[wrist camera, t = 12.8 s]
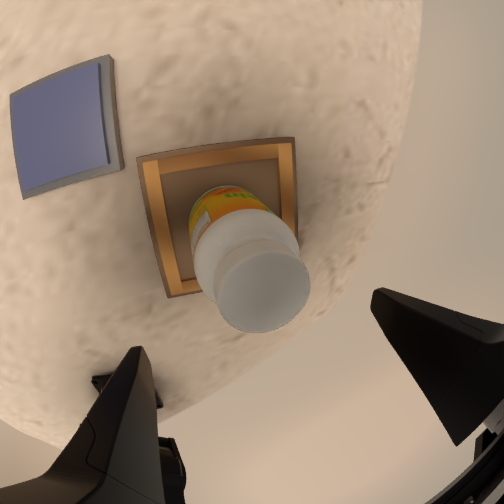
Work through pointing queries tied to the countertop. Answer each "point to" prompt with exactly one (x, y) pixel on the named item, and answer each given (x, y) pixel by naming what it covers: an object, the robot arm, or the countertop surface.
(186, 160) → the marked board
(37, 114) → the ink pad
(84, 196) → the countertop surface
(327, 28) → the countertop surface
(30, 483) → the robot arm
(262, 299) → the supplement bottle
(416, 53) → the countertop surface
